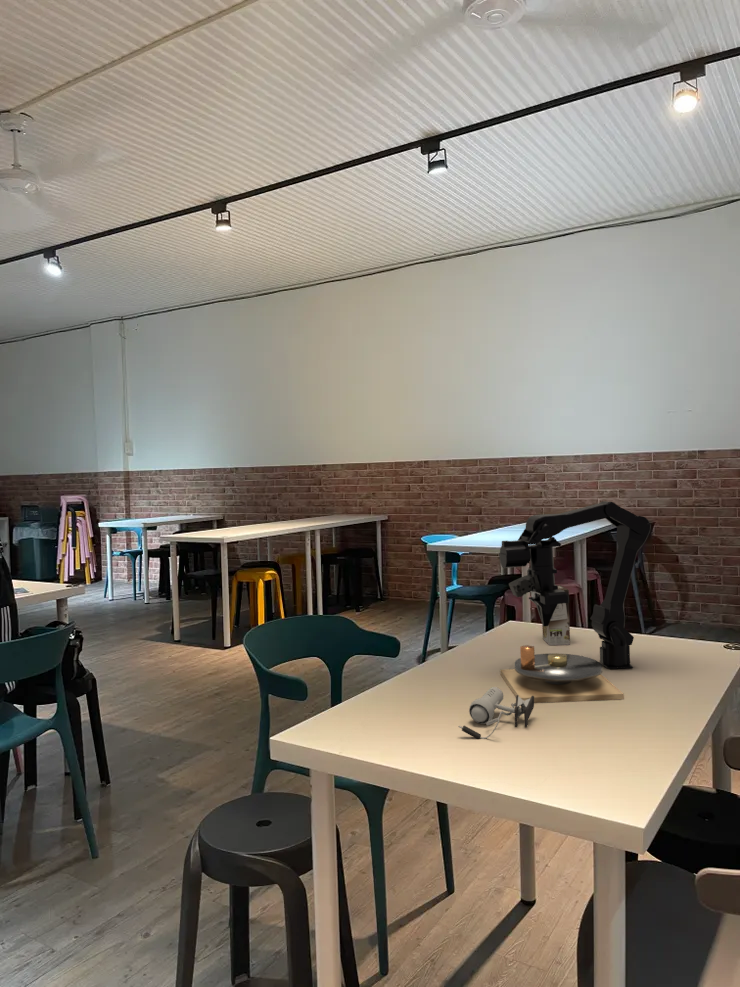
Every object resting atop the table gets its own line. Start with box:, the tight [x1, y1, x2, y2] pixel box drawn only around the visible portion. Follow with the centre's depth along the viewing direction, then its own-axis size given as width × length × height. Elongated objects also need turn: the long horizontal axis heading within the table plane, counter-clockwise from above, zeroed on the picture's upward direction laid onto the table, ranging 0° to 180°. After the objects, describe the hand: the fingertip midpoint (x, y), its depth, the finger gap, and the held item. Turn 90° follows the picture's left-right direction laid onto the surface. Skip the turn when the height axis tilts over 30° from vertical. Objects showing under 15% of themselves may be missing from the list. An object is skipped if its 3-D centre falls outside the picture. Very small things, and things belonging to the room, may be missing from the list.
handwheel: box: [514, 644, 603, 682], centre depth 173 cm, size 20×20×6 cm
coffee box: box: [541, 584, 571, 646], centre depth 216 cm, size 9×6×16 cm
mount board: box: [499, 668, 625, 704], centre depth 173 cm, size 23×23×4 cm
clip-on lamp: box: [458, 686, 535, 740], centre depth 148 cm, size 12×6×18 cm
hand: (545, 626), depth 185 cm, fingers closed
